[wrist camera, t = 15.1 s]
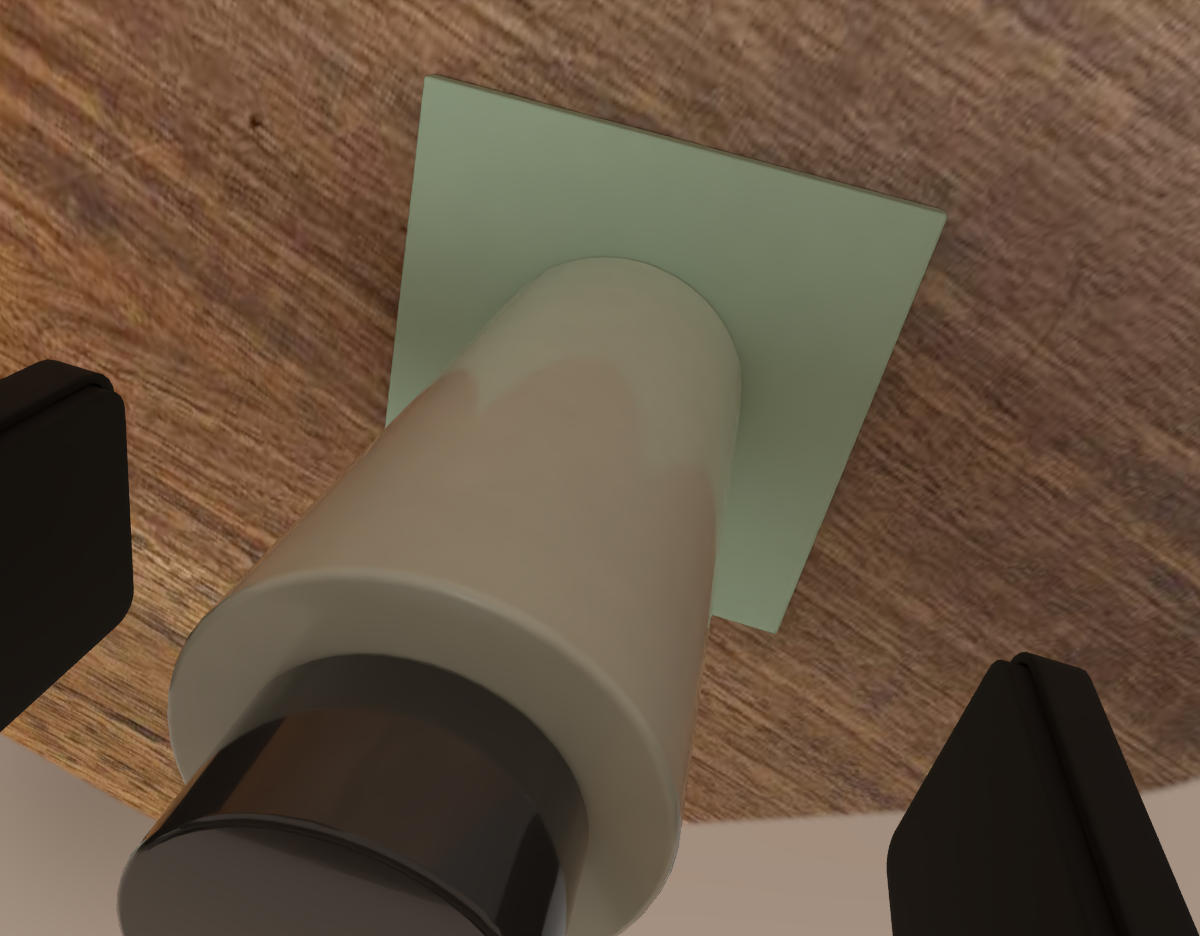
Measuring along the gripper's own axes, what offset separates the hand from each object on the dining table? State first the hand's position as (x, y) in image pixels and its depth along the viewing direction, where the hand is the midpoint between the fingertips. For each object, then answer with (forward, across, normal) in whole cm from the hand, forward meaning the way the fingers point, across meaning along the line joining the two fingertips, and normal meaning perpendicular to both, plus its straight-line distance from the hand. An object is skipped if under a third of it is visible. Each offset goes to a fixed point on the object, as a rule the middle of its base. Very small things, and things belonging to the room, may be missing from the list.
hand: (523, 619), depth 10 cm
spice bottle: (+6, 0, 0) cm, 7 cm away
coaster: (+7, 0, 0) cm, 7 cm away
